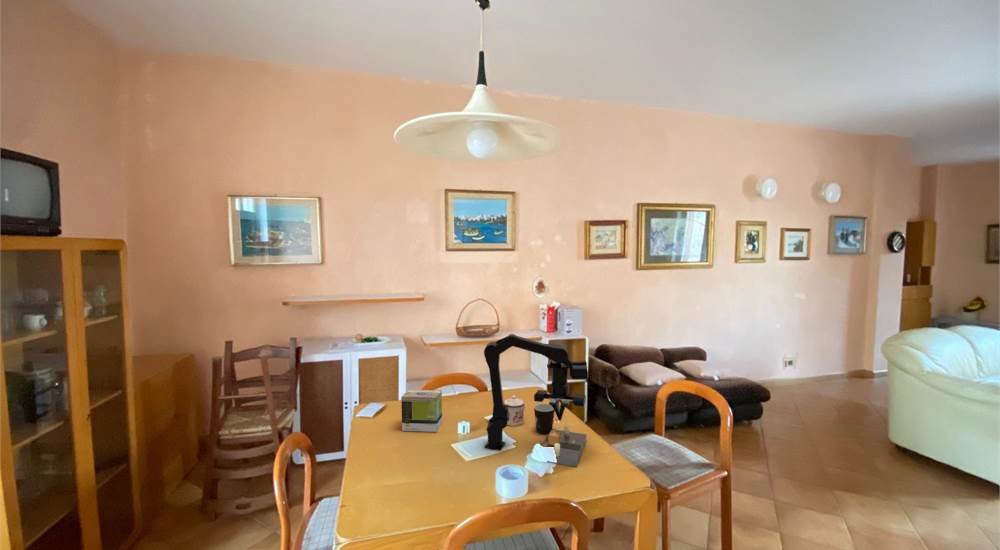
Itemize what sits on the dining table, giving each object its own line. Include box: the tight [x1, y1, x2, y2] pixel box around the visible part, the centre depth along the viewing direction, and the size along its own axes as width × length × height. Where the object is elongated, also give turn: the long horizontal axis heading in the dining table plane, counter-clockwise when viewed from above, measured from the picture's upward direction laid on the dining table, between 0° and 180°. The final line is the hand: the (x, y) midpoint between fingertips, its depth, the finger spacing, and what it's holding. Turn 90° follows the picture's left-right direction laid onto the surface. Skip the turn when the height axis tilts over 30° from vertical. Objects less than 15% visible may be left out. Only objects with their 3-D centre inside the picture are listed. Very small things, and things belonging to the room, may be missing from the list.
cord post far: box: [563, 424, 570, 437], centre depth 162 cm, size 2×2×4 cm
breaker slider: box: [549, 432, 560, 445], centre depth 155 cm, size 4×4×4 cm
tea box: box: [400, 389, 443, 433], centre depth 176 cm, size 15×10×15 cm
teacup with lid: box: [503, 395, 526, 427], centre depth 182 cm, size 12×9×12 cm
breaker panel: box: [541, 428, 587, 468], centre depth 156 cm, size 22×14×3 cm, turn 159°
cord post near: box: [554, 443, 560, 457], centre depth 146 cm, size 2×2×4 cm
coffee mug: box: [533, 403, 555, 436], centre depth 174 cm, size 12×9×10 cm
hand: (560, 420), depth 157 cm, fingers closed
